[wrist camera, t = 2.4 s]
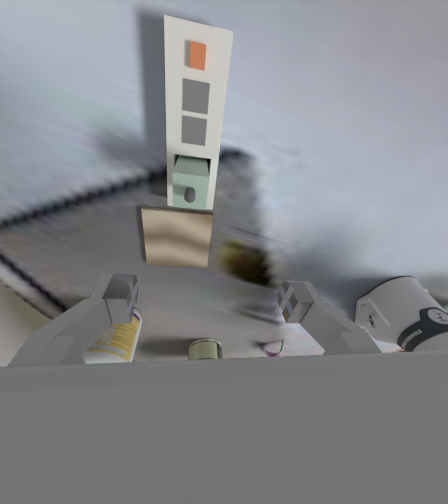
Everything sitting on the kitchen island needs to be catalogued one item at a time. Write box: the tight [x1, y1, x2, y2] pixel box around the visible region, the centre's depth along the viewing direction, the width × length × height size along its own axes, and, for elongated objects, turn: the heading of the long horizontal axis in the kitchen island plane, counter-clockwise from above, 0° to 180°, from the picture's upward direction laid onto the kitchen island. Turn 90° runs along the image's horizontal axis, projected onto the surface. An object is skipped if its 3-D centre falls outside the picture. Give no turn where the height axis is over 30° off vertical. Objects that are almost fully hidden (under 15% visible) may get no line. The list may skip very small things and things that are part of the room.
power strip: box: [164, 15, 233, 210], centre depth 27 cm, size 20×7×4 cm, turn 172°
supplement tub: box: [82, 308, 142, 364], centre depth 43 cm, size 12×12×17 cm
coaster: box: [141, 207, 213, 268], centre depth 38 cm, size 12×12×1 cm
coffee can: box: [188, 338, 222, 360], centre depth 57 cm, size 10×10×14 cm
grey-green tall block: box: [173, 155, 209, 210], centre depth 27 cm, size 4×4×12 cm
